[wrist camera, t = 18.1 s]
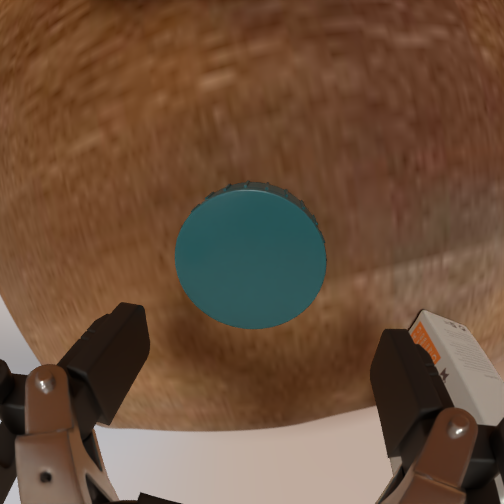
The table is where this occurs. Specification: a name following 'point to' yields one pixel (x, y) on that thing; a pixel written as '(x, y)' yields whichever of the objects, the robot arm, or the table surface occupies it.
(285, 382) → the table surface
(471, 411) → the cosmetic box
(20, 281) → the table surface
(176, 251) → the jam lid
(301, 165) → the table surface
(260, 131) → the table surface
